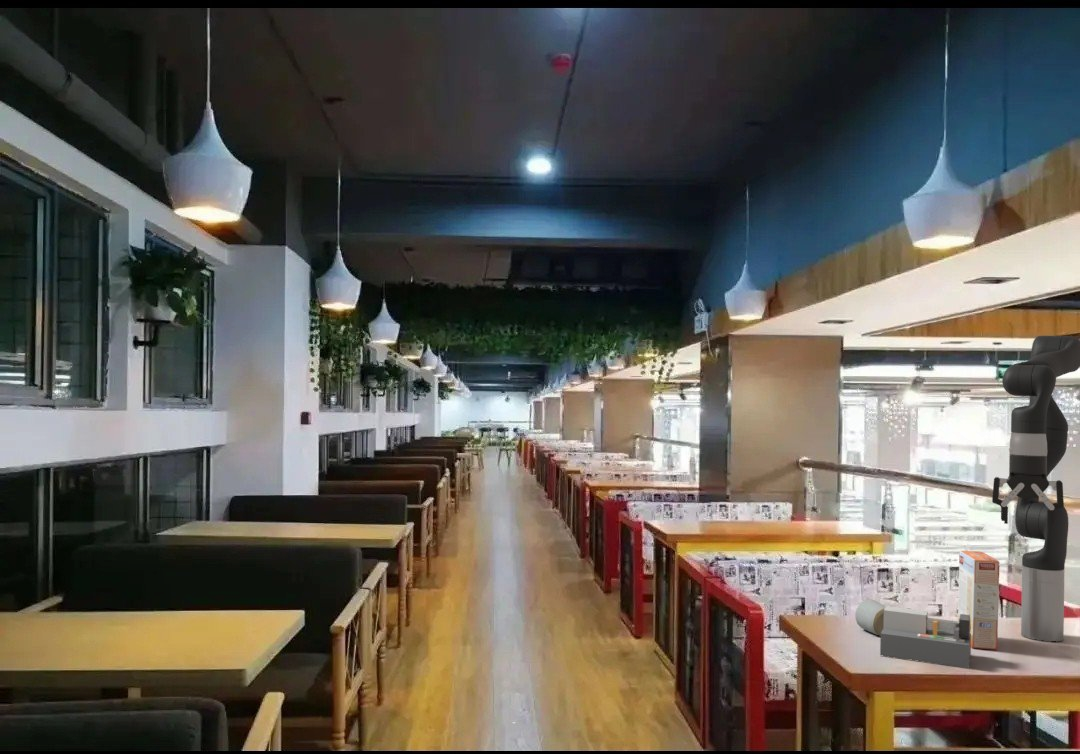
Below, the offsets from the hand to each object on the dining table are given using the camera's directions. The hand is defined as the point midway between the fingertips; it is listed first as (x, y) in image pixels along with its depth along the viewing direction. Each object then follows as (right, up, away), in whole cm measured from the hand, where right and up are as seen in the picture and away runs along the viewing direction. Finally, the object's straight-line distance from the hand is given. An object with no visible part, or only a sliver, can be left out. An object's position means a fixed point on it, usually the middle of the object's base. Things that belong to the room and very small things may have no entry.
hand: (1027, 524), depth 208 cm
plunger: (-20, -24, -1) cm, 31 cm away
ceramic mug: (-26, -30, +19) cm, 44 cm away
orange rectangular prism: (-22, -24, -3) cm, 33 cm away
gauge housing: (-23, -30, 0) cm, 37 cm away
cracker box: (-5, -31, +13) cm, 33 cm away
